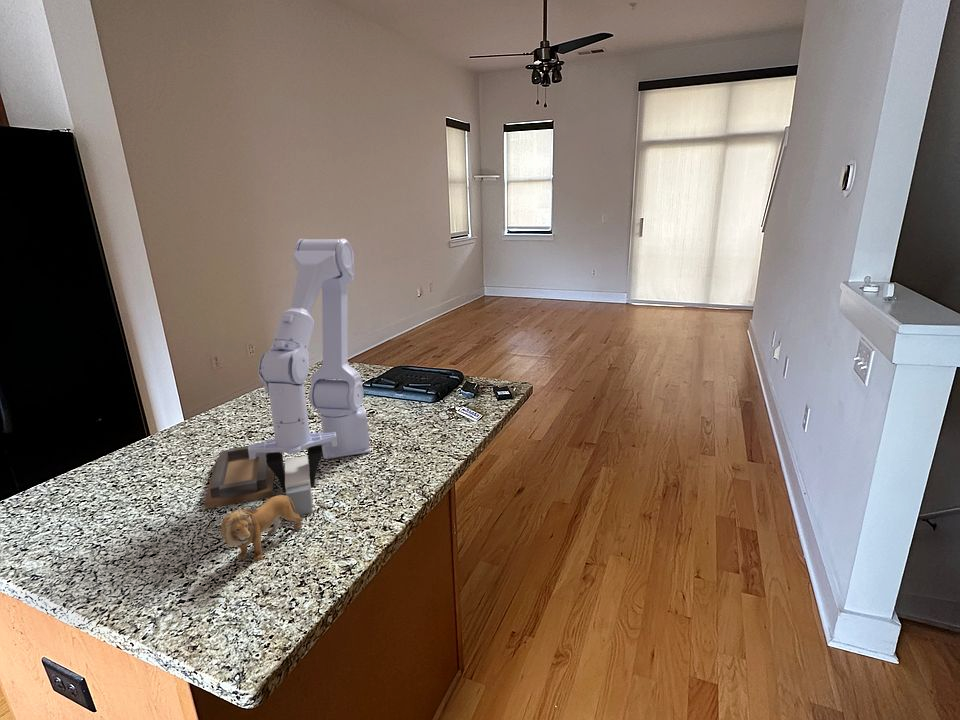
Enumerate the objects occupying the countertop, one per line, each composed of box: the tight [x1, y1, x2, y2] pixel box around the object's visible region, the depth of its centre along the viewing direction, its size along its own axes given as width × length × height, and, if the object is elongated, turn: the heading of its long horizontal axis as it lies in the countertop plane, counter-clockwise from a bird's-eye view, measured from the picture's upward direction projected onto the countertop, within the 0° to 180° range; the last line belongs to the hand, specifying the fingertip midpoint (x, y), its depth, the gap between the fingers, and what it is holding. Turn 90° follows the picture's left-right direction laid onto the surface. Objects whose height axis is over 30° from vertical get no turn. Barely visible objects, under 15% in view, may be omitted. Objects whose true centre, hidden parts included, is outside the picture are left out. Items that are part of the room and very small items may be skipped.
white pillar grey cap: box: [284, 455, 314, 516], centre depth 91 cm, size 4×12×5 cm, turn 20°
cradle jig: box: [203, 445, 275, 510], centre depth 98 cm, size 11×18×3 cm, turn 20°
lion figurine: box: [220, 494, 303, 562], centre depth 77 cm, size 15×5×9 cm, turn 164°
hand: (299, 487), depth 92 cm, fingers closed on white pillar grey cap, 4 cm apart
